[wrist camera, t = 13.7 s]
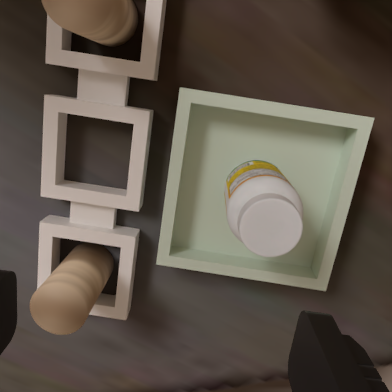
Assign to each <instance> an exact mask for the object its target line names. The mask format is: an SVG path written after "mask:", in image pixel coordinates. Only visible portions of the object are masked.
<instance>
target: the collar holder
mask: <svg viewBox="0 0 392 392" xmlns="http://www.w3.org/2000/svg"><path fill="white" fill-rule="evenodd" d="M166 2H167V0H146V10H145V20H144V29H143V39H142V49H141V58H140V62H137V61H130V60H124V59H118V58H111V57H105V56H99V55H92V54H86V53H80V52H73V51H71V38H72V32H71V31H69V30H66V29H64V28H62V27H60V26H59V25H58V24H56V23H55V22H54V21H53V20H52V19H51V18H50V17H49V15H48V14H47V34H46V62H45V63H46V64H52V65H59V66H65V67H71V68H78V69H79V73H78V90H77V98H74V97H68V96H61V95H55V94H51V95H44V117H43V145H42V173H41V196H42V197H49V198H55V199H61V200H68V201H71V207H70V218H67V217H61V216H54V215H48V216H47V217H46V218H44V219H43V220H42V221H40V228H39V256H38V283H37V289H38V288H39V287H40V286H41V285H42V284H43V283H44V281H45V280H46V279H47V278H48V277H49V276H50V275H51V274H52V272H53V271H54V270H55V269H56V268H57V267H58V266H59V262H60V243H61V238H65V239H71V240H78V241H84V242H90V243H97V244H103V245H109V246H115V247H121V252H120V262H119V271H118V281H117V291H116V295H110V294H103V293H101V294H100V295H99V297H98V299H97V301H96V303H95V304H94V306H93V308H92V310H91V312H90V313H89V315H95V316H102V317H108V318H114V319H121V320H126V319H127V317H128V314H129V311H130V309H131V301H132V292H133V284H134V275H135V267H136V258H137V250H138V241H139V233H140V229H136V228H130V227H124V226H118V225H116V217H117V208H118V209H125V210H131V211H137V212H139V210H140V209H141V207H142V205H143V198H144V190H145V181H146V173H147V164H148V156H149V147H150V138H151V130H152V121H153V113H154V110H150V109H144V108H137V107H131V106H127V103H128V93H129V83H130V77H135V78H141V79H147V80H154V81H157V79H158V70H159V62H160V53H161V44H162V36H163V27H164V19H165V10H166ZM67 114H74V115H80V116H86V117H93V118H99V119H105V120H112V121H118V122H124V123H131V124H134V126H133V136H132V145H131V155H130V165H129V175H128V184H127V190H125V189H119V188H113V187H106V186H100V185H94V184H87V183H81V182H75V181H68V180H64V169H65V150H66V132H67Z"/></svg>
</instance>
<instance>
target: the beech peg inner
mask: <svg viewBox="0 0 392 392" xmlns="http://www.w3.org/2000/svg"><path fill="white" fill-rule="evenodd" d="M41 1H42V4H43V6H44V9H45V10H46V12H47V14H48V15H49V17H50V18H51V19H52V20H53V21H54V22H55V23H56V24H58V25H59V26H60V27H62V28H64V29H66V30H69V31H71V32H73V33H76V34H78V35H81V36H83V37H85V38H88V39H90V40H93V41H95V42H97V43H100V44H102V45H105V46H109V47H116V46H120V45H123V44H125V43H126V42H128V41H129V40H130V39H131V38H132V36H133V35H134V33H135V31H136V29H137V25H138V12H137V8H136V6H135V4H134V2H133V0H41Z"/></svg>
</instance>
